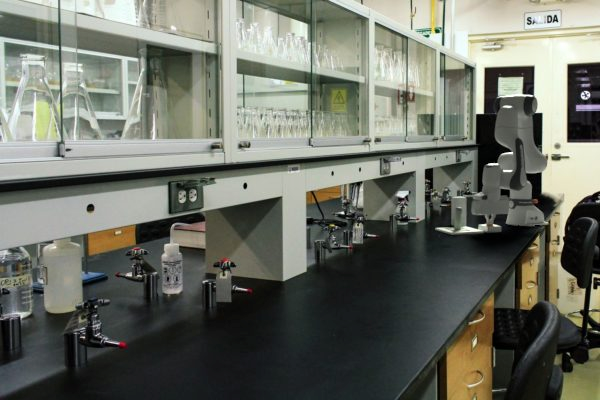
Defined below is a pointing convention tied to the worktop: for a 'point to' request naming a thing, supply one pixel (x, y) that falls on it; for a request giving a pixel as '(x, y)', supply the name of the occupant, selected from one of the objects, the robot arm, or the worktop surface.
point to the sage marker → (458, 218)
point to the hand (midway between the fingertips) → (489, 223)
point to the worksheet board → (456, 232)
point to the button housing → (489, 228)
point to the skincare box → (458, 203)
